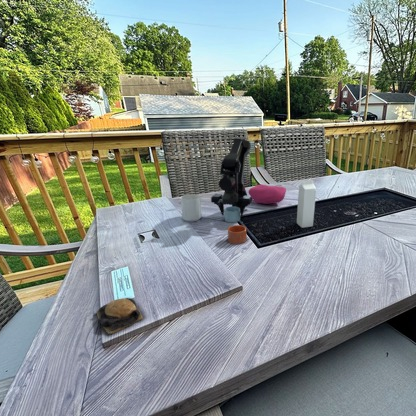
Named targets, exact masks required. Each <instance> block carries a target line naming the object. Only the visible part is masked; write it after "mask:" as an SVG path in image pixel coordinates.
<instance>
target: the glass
mask: <svg viewBox="0 0 416 416" xmlns="http://www.w3.org/2000/svg"><path fill="white" fill-rule="evenodd" d="M224 221H225V222H226V223H227V222H228V223H237V222H239V221H241V213H240V208H239V207H234V206H232V205H231V206H227V207H224Z"/></svg>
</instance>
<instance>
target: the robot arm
mask: <svg viewBox="0 0 416 416" xmlns="http://www.w3.org/2000/svg"><path fill="white" fill-rule="evenodd" d="M251 148H252V144H251V141H250V140H248V139H247V140H246V139H245V138H243V137H235V138H233V141H232V144H231V148H230V151H229V153H228V154H226V155H224V157H223V159H222V160H221V164H220V165H221V166H220V172H219V174H220V175H222V177H221V178H220V179H219V181H218V186H219V188H220V189H221V190H222V191H224V192H223V193H214V194H213V195H212V196H211V197H210V202H211V203H212V204H214V205H216V206H217V208H218V209H219V211H220V213H221V215H222V216H225V214H224V209H225V205H230V206H231V207H232V206H234V207H239V208H240V218H243V216H244V213H245V211H247V208H246V207H248V206H250V205H251V204H252V203H253V199H252V197H251V196H250V195H248V193H247V191H246V186H245V185H244V174H245V167H246V166H245V165H246V157H247V156H248V155H249V154H250V150H251Z"/></svg>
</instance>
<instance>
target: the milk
mask: <svg viewBox="0 0 416 416" xmlns="http://www.w3.org/2000/svg"><path fill="white" fill-rule="evenodd" d="M316 194H317V187H316V185H315V181H314V180H313V179H312V180H311V179H309V180H307V179H306V180H302V181H301V184H300V185H299V186H298V194H297V195H298V196H297V208H296V209H297V211H296V224H297V225H298V226H299V227H300V228H301V229H303V228H310V227H314V218H315V209H316V208H315V207H316Z"/></svg>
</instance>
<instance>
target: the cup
mask: <svg viewBox="0 0 416 416" xmlns="http://www.w3.org/2000/svg"><path fill="white" fill-rule="evenodd" d="M227 241H228V243H230V244H232V245H233V244H234V245H239V244H243V243H245V242H246V241H247V227H246V226H244V225H241V224H235V225H230V226H228V228H227Z"/></svg>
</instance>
